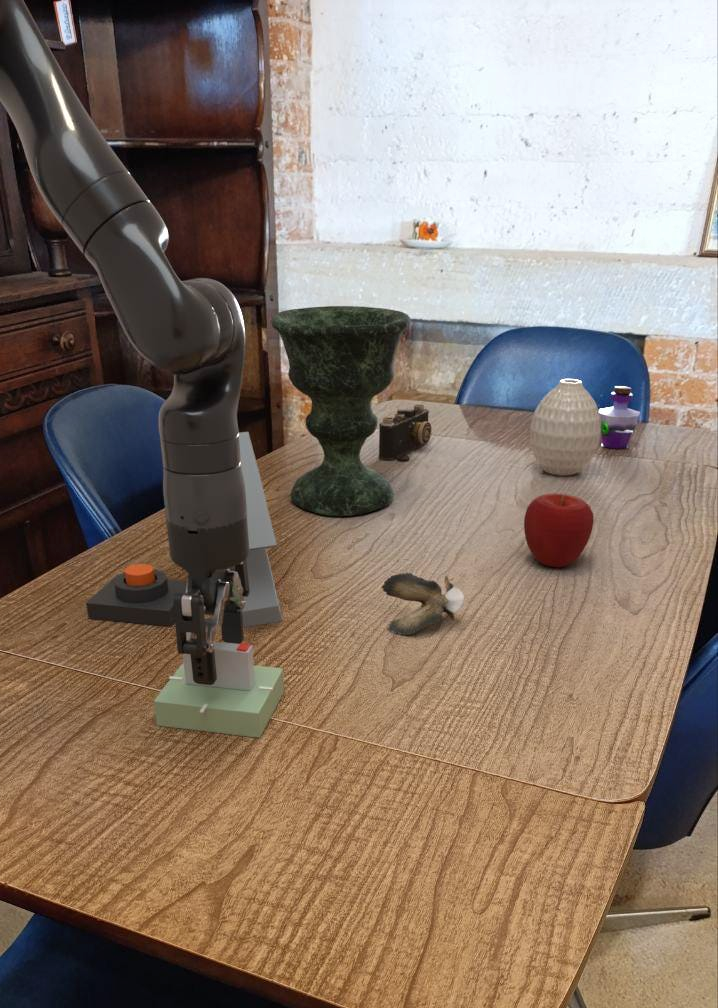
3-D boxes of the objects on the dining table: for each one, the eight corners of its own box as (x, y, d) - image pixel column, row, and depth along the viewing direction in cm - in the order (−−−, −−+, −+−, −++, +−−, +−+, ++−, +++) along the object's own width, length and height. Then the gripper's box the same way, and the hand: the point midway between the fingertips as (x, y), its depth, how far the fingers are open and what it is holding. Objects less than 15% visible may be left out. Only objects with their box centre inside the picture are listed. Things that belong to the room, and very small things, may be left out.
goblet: (258, 514, 144) (248, 322, 130) (302, 474, 163) (298, 303, 149) (388, 527, 139) (392, 329, 125) (418, 484, 158) (424, 308, 144)
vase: (602, 466, 168) (615, 378, 160) (585, 485, 158) (597, 391, 150) (537, 457, 173) (546, 371, 165) (517, 475, 163) (525, 383, 155)
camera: (403, 464, 169) (404, 422, 165) (373, 458, 172) (374, 418, 168) (442, 444, 181) (444, 405, 178) (414, 439, 185) (415, 401, 181)
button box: (88, 618, 110) (83, 589, 109) (119, 589, 118) (115, 561, 116) (170, 626, 109) (167, 597, 107) (196, 596, 116) (194, 568, 114)
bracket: (215, 675, 123) (238, 601, 100) (174, 508, 131) (186, 406, 108) (271, 664, 125) (305, 590, 103) (227, 501, 133) (250, 400, 111)
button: (121, 586, 110) (119, 573, 110) (133, 575, 114) (131, 562, 113) (148, 588, 110) (146, 576, 109) (159, 577, 113) (158, 564, 112)
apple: (589, 578, 122) (598, 509, 117) (519, 572, 124) (526, 505, 119) (586, 552, 130) (595, 487, 126) (521, 547, 132) (527, 483, 127)
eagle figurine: (433, 593, 115) (372, 593, 111) (458, 560, 109) (395, 560, 105) (451, 642, 111) (389, 644, 107) (478, 612, 106) (413, 613, 102)
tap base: (151, 731, 88) (147, 705, 87) (191, 676, 98) (188, 651, 96) (257, 744, 86) (255, 717, 85) (288, 687, 96) (286, 662, 95)
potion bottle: (585, 446, 181) (593, 387, 175) (605, 437, 186) (612, 380, 181) (624, 454, 176) (633, 393, 170) (643, 445, 181) (652, 386, 176)
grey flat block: (185, 683, 91) (181, 643, 88) (191, 676, 92) (187, 636, 90) (250, 691, 89) (247, 650, 87) (255, 683, 91) (252, 643, 89)
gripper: (195, 484, 89) (209, 627, 96) (137, 535, 76) (157, 694, 84) (266, 489, 87) (274, 633, 95) (218, 541, 75) (232, 702, 83)
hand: (219, 661), depth 89 cm, fingers open, 8 cm apart
